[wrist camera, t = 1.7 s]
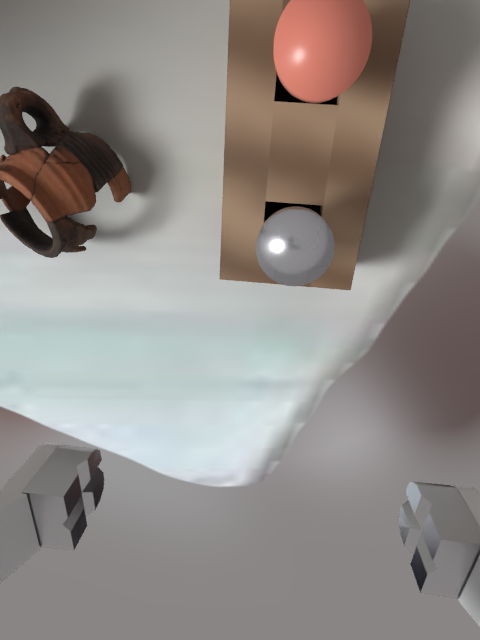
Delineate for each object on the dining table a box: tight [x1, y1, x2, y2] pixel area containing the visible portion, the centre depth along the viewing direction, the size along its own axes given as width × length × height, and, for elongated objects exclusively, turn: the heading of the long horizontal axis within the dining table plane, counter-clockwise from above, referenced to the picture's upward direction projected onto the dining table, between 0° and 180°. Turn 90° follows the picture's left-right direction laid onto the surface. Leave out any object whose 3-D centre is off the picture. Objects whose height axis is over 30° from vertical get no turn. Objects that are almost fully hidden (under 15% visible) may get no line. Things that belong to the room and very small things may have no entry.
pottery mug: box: [0, 87, 131, 258], centre depth 29 cm, size 12×10×8 cm
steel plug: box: [256, 206, 335, 286], centre depth 25 cm, size 5×5×7 cm
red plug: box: [273, 0, 372, 103], centre depth 20 cm, size 5×5×7 cm
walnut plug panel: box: [220, 0, 410, 290], centre depth 27 cm, size 18×10×6 cm, turn 177°
